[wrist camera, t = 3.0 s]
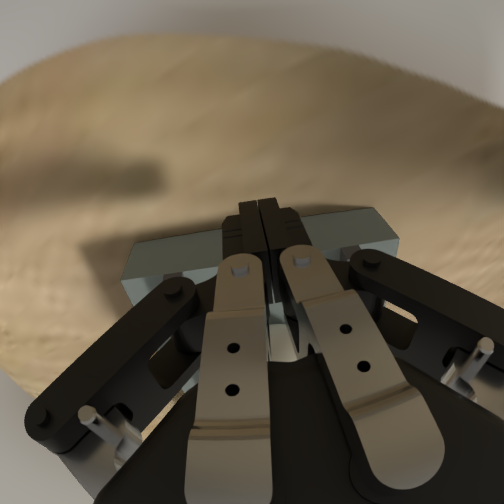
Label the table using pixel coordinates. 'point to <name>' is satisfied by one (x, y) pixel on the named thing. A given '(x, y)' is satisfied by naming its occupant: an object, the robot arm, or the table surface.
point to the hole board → (210, 256)
